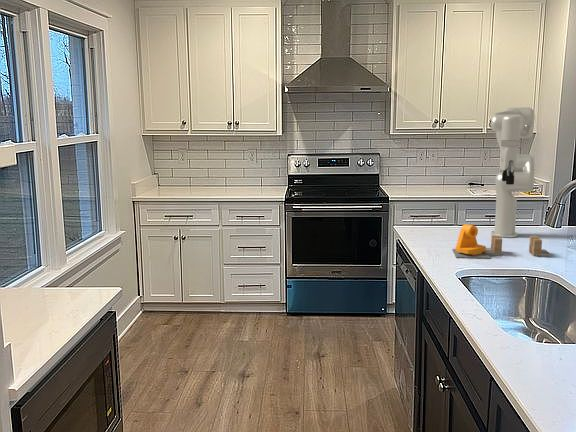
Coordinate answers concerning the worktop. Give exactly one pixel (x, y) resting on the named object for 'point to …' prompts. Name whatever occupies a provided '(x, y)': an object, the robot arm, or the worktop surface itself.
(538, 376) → the worktop surface
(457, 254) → the mat
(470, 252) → the bracket
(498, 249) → the vise jaws
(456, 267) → the worktop surface
